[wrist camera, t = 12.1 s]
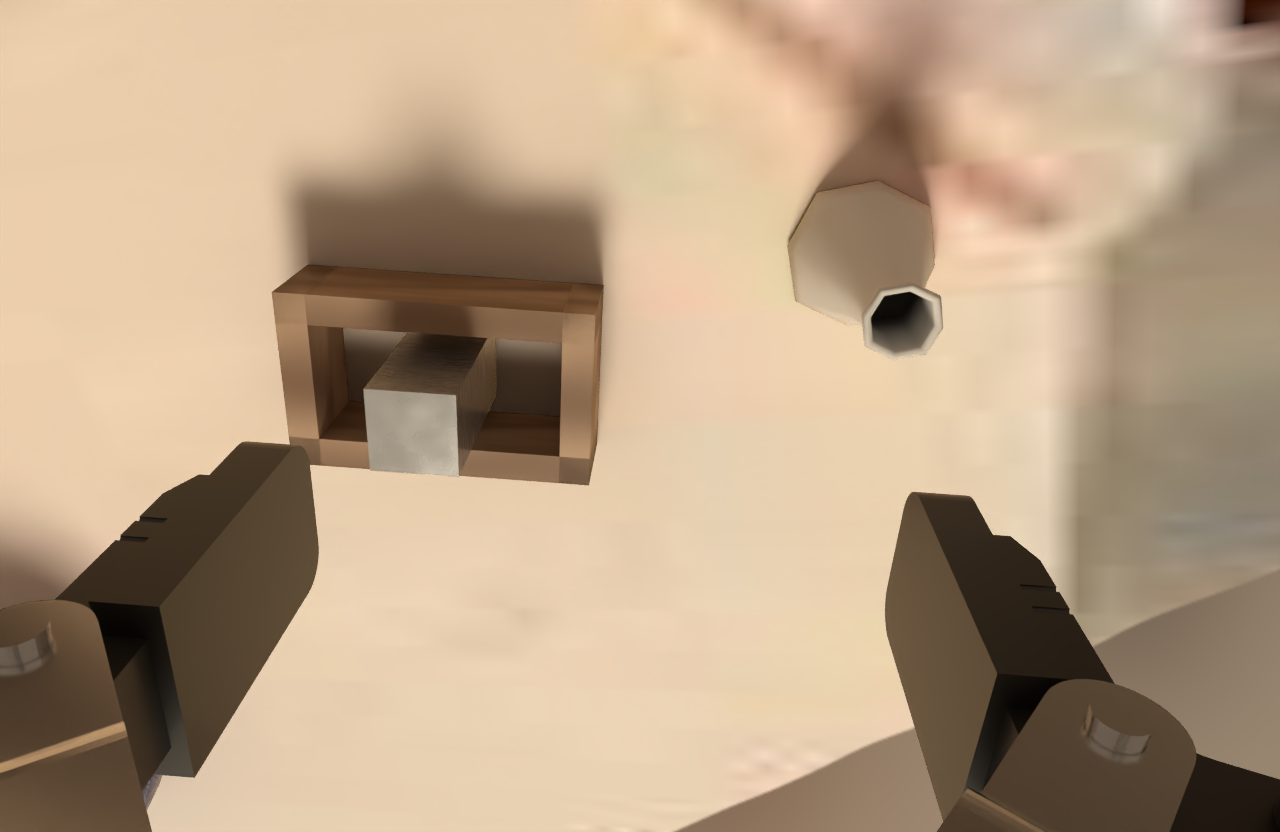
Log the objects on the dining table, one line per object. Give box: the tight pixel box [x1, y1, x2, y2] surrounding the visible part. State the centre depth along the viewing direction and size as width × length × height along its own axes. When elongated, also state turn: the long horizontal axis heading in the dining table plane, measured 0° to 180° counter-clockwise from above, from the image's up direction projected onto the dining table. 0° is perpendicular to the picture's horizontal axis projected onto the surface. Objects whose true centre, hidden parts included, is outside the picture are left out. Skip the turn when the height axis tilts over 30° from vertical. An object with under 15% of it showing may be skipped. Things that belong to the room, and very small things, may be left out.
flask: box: [788, 181, 943, 360], centre depth 41 cm, size 7×7×10 cm
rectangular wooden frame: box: [272, 265, 603, 485], centre depth 47 cm, size 9×15×4 cm, turn 87°
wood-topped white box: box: [363, 332, 497, 477], centre depth 45 cm, size 4×4×9 cm
